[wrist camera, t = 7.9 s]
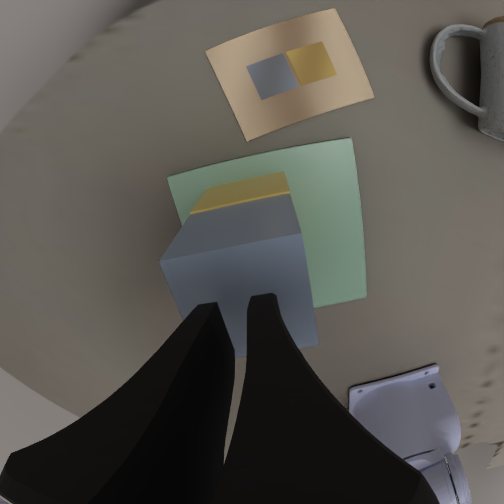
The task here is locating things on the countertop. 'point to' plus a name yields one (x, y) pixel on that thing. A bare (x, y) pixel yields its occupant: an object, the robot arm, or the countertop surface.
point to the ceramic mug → (492, 73)
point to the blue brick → (243, 266)
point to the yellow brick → (242, 191)
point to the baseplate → (303, 208)
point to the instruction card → (289, 72)
